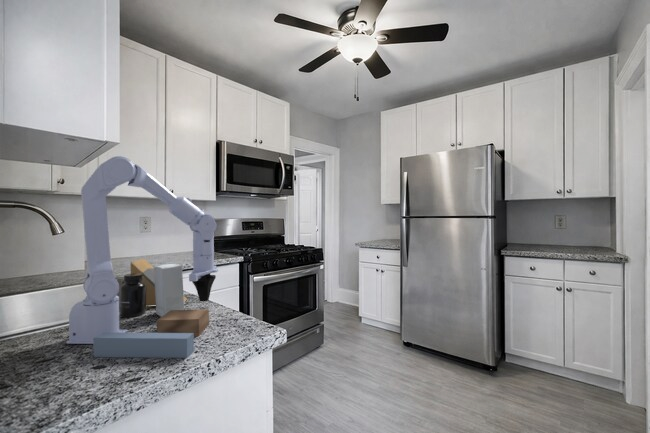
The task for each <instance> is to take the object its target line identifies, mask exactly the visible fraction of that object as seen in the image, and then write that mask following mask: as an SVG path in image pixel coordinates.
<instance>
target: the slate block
mask: <svg viewBox="0 0 650 433" xmlns="http://www.w3.org/2000/svg"><path fill="white" fill-rule="evenodd" d="M92 345H93V357H94V358H160V359H161V358H165V359H167V358H168V359H169V358H174V359H175V358H178V359H179V358H183V359H185V358H186V359H187V358H188V357H190V356H191V355H192V354H193V353H194V350H195V348H194V347H195V336H194V333H157V332H126V333H102V334H100V335H98V336H96V337H94V338H93V344H92Z"/></svg>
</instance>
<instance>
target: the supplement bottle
mask: <svg viewBox="0 0 650 433" xmlns="http://www.w3.org/2000/svg"><path fill="white" fill-rule="evenodd" d="M142 280H143V274H141V273H133V274H131V273H128V274H127V273H126V274H124V275H123V282H124V283H122V285H121V286H119V317H121V318H134V317H135V316H136V317H139V315H140V316H142V314H143V315H145V313H146V312H147V307H146V284H145V283H144V282H142ZM136 317H135V318H136Z"/></svg>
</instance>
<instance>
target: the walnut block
mask: <svg viewBox="0 0 650 433" xmlns="http://www.w3.org/2000/svg"><path fill="white" fill-rule="evenodd" d="M208 326H210V310H209V308H208V309H184V310H171V311H169V312H168V313H166V314H165V315H164V316H162V317H161V316H160V317H159V318H157V320H156V333H194V337H200V336H201V335H202V334H203V333H204V331H205V330H206V329H207V328H208Z"/></svg>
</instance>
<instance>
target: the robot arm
mask: <svg viewBox="0 0 650 433" xmlns="http://www.w3.org/2000/svg"><path fill="white" fill-rule="evenodd" d="M126 183H128V184H127V186H129V187H135V188H141V189H143V190H145V191H146V192H148V193H150V194H151V195H153V197H155V198H156V199H158V200H159V201H161V202H162V203H164V204H166V205H167V206H168V212H169V213H170V214H171V215H173V216H174V217H176V219H179V220H180V222H182V223H184V224H185V225H187V226H189V228H190V231H192V236H193V237H192V249H193V250H192V261H193V262H192V263H193V266H192V268H193V270H192V271H191V272H190V274H188V281H189V282H192V285H194V288H195V289H196V292H197V296H198V300H199V302H208V301H209V299H210V295H211V290H212V287H213V284H214V281H215V279H216V275H215V274H214V273H217V272H219V269H218V268H217V265H215V246H214V244H215V241H214V240H215V239H214V233H215V231H216V229H217V227H218V223H216V222H217V221H216V220H215V218H214V217H213V216H212V215H211V214H207V213H206V212H205V210H204V209H203V208H199V207H198V206H197V205H195V204H194V203H193V202H192V201H193V199H191V198H190V197H185V196H184V195H183V196H177V195H175V194H174V193H173V192H172V191H170V190H169V189H168V188H167V187H166V186H165V185H163V184H162V183H160V182H159V180H157V179H156V178H155V177H153V176H152V175H151V174H150V173H149V172H147V171H146V170H145V169H144V168H143V167H142V166H140V165H138V164H135V163H133V161H131V159H129V158H127V157H125V156H121V155H120V156H119V155H117V156H112V157H110V158H109V159H107V160H106V161H104V162H102V163H101V164H100V165H98V167H97V168H95V170H94V171H93V173H92V174H91V175H90V177H89V178H88V179H87V180H86V182H85V183H84V184H83V185H82V187H81V189H80V195H81V197H80V198H81V205H82V217H83V219H82V220H83V229H84V239H85V252H86V253H85V255H86V262H87V263H86V277H85V279H84V281H83V285H82V286H83V290H84V292H85V293H86V296H85V298H84V299H82V301H78V302H77V303H75V304H74V305H73V306H72V307H71V309H70V312H69V315H68V316H69V317H68V319H69V320H68V322H69V323H68V336H69V338H68V339H69V340H67V341H66V344H70V345H71V344H73V345H74V344H75V345H76V344H77V345H80V344H81V345H83V344H84V345H85V344H86V345H93V338H94V337H96V336H98V335H100V334H102V333H128V331H129V330H128V329H121V328H120V295H119V296H118V293H120V283H119V282H118V280H117V279H116V277H115V276H114V268H113V264H112V258H111V246H110V232H109V224H108V223H109V222H108V221H109V220H108V211H107V210H108V209H107V196H108V195H109V194H110V193H112V192H113V191H114V190H115V189H116V188H117V187H120V186H122V185H124V184H126ZM205 213H206V214H205Z"/></svg>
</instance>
